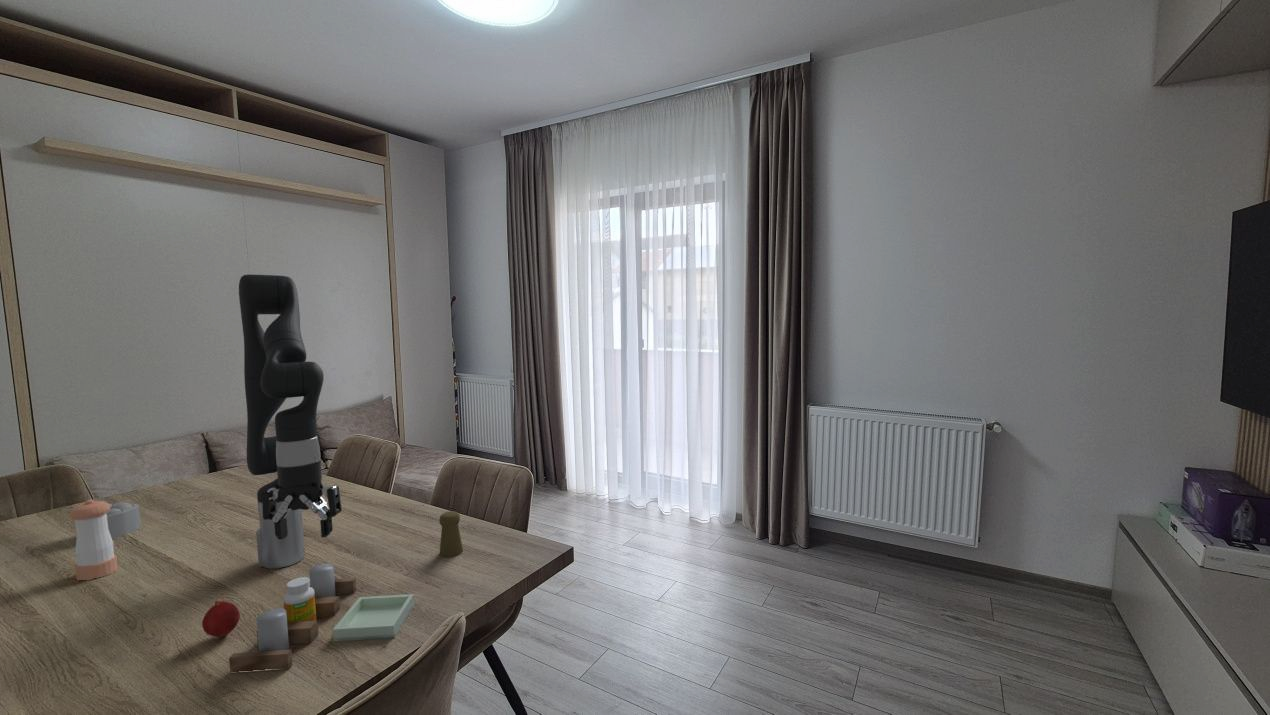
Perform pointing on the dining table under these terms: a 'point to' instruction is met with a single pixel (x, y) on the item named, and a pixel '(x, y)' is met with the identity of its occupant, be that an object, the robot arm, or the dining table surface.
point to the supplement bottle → (300, 601)
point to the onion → (220, 619)
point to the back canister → (323, 580)
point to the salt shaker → (93, 541)
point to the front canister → (273, 630)
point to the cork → (450, 535)
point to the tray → (374, 618)
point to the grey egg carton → (123, 518)
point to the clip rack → (293, 634)
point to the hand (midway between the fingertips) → (304, 536)
